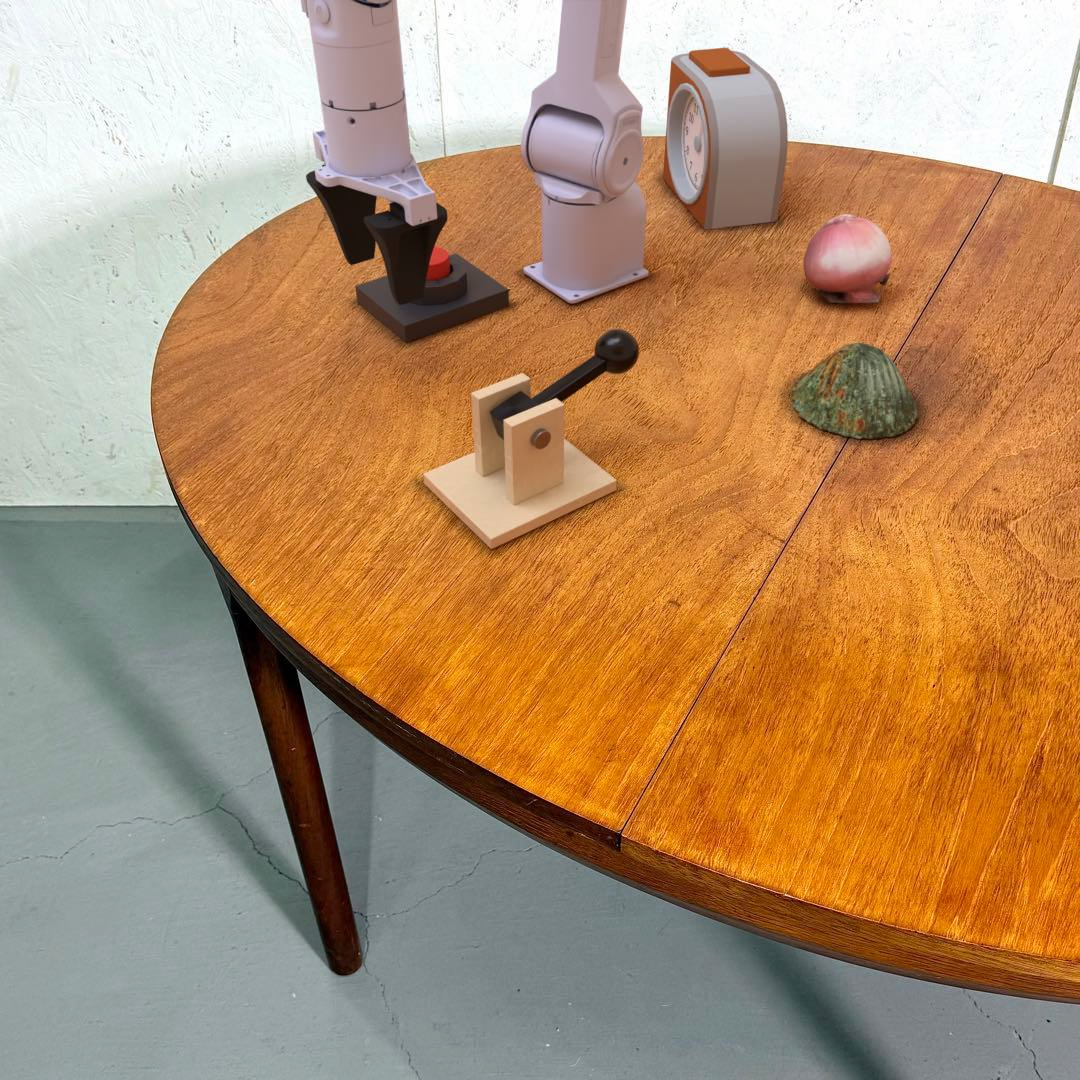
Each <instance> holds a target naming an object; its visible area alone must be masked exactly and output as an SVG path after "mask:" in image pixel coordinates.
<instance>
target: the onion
mask: <svg viewBox="0 0 1080 1080" xmlns="http://www.w3.org/2000/svg"><path fill="white" fill-rule="evenodd" d="M892 261H893V252H892V247H891V244H890V242H889V240H888V238H887V236H886V234H885V233H884V231H883V230H882V229H881V228H880V227H879V226H878V225H877V224H876V223H874V222H873V221H871V220H869V219H866V218H865V217H864V218H863V217H858V216H857V215H854V214H849V213H843V214H840V215H837V216H834V217H832V218H830V219H829V220H828V221H826V222H825V223H824V225H822V227H821V228H820V229H818V230H817V231H816V232H815V233H814V234H813V236H812V237H811V238H810V239H809V242H808V244H807V246H806V250H805V253H804V259H803V272H804V276H805V278H806V280H807V281H808V283H809V284H810V285H811V286H812V287H813V288H814V289H816V290H817V292H818V293H819V294H820V295H821V296H822V297H823V298H824V299H825V300H827V302H829V303H833V304H834V303H835V304H838V303H839V304H878V303H879V301H880V299H881V297H882V294H883V292H884V287H886V284H887V283H888V281H889V279H890V277H891V274H892V273H891V272H889V271H890V268H891V265H892ZM878 284H879V285H880V286H881V290H880V291H874V288H875V287H876V285H878Z"/></svg>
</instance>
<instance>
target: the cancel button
mask: <svg viewBox="0 0 1080 1080" xmlns="http://www.w3.org/2000/svg"><path fill="white" fill-rule="evenodd" d="M449 255H450V253H449V252H448V251H447V250H446V249H444V248H443V247H439V246H434V249H433V252H432V255H431V259H430V263H429V268H428V273H427V279H426V281H433V280H439V279H442V278H445V277H448V276H449V275H450V261H449Z"/></svg>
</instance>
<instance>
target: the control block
mask: <svg viewBox="0 0 1080 1080" xmlns="http://www.w3.org/2000/svg"><path fill="white" fill-rule="evenodd" d="M449 261H450V275H449V276H448V277H445V278H442V279H439V280H433V281H426V285H425V290H424V295H423V298H421V299H418V300H415V301H412V302H409V303H406V304H403V305H399V304H398V303H397V302H395V300H394V297H393V295H392V292H391V289H390V285H389V281H388V277H387V275H384V276H381V277H378V278H375V279H372V280H368V281H365V282H363V283H360V284H357V285H355V295H356V302H357V303H358V304H359V305H360V306H361V307H363V308H364V309H365V310H366V311H367V312H368V313H370V314H371V315H372V316H374V318H376V319H377V320H378V321H380V322H381V323H382V324H383V325H384V326H385V327H386V328H388V329H389V330H390V331H391V332H393V333H394V334H395V335H396V336H397V337H398V338H400V339H401V340H402V341H403V342H404V343H406V344H407V343H409V342H413V341H415V340H418V339H420V338H424V337H426V336H429V335H431V334H435V333H437V332H440V331H443V330H446V329H448V328H452V327H454V326H456V325H457V326H458V325H460V324H463V323H465V322H468V321H471V320H474V319H476V318H478V317H482V316H485V315H488V314H490V313H493V312H496V311H498V310H501V309H505V308H507V307H510V291H509V288H507V287H506V286H504V285H502V284H501V282H498V281H497V280H496V279H494V278H493V277H491V276H490V275H489V274H487V273H486V272H485V271H483V270H481V269H480V268H479V267H477V266H476V265H474V264H473V263H471V262H470V261H468V260H467V259H465V258H464V257H462V256H461V255H460V254H459V253H452V254H449Z"/></svg>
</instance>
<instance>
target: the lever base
mask: <svg viewBox="0 0 1080 1080" xmlns="http://www.w3.org/2000/svg"><path fill="white" fill-rule="evenodd" d="M531 387H532V386H531V378H530V377H529V376H528V375H527V374H525V373H524V372H521V373H518V374H516V375H513V376H510V377H507V378H506V379H503V380H500V381H498V382H496V383H493V384H490V385H488V386H485V387H482V388H480V389H478V390H475V391H473V392H471V394H470V396H471V413H472V431H473V447H474V449H473V450H474V451H473V452H471V453H469V454H466V455H464V456H461V457H459V458H457V459H454V460H452V461H450V462H447V463H445V464H442V465H440V466H437V467H436V468H433V469H430V470H428V471H426V472H424V473H423V475H422V476H423V485H424V486H426V487H427V488H428V489H429V490H430V491H431V492H432V493H433V494H434V495H435V497H437V498H438V499H439V500H440V501H441V502H442V503H443V504H444V505H445V506H447V508H448V509H450V511H451V512H452V513H453V514H454V515H455V516H456V517H458V518H459V520H461V522H463V524H465V525H466V526H467V527H468V528H469V529H470V530H471V531H472V532H473V533H474V534H475V535H476V536H477V538H479V539H480V540H481V541H482V542H483V543H484V544H485V545H486V546H487V547H488V548H489V549H490V550H493V549H495V548H498V547H500V546H502V545H504V544H506V543H508V542H510V541H512V540H514V539H516V538H518V537H521V536H523V535H525V534H527V533H529V532H532V531H534V530H536V529H537V528H538V529H539V528H540V527H542V526H544V525H546V524H548V523H551V522H552V521H554V520H556V519H559V518H560V517H563V516H565V515H567V514H569V513H571V512H573V511H576V510H578V509H579V508H582V507H584V506H586V505H588V504H590V503H593V502H595V501H597V500H598V499H601V498H603V497H605V496H607V495H610V494H611V493H614V492H615V491H617V479H616V478H615V477H613V476H612V475H611V474H609V473H608V472H607V471H606V470H604V468H602V467H601V466H600V465H598V464H597V463H596V462H595V461H593V460H592V459H591V458H589V456H587V455H586V454H585V453H584V452H582V451H581V450H580V449H578V448H577V447H576V446H575V445H574V444H573V443H571V442H570V441H568V440H567V439H566V438H565V410H566V409H565V406H566V405H565V403H563V402H561V401H559V400H558V399H557V398H555V399H553V400H550V401H548V402H545V403H543V404H541V405H538V406H536V407H533V408H531V409H528V410H526V411H524V412H521V413H519V414H516V415H514V416H512V417H509V418H507V419H504V420H503V421H504V440H503V439H502V438H501V437H499V436H498V434H497V431H496V429H495V426H494V423H493V420H492V417H491V414H490V411H491V410H493V409H494V408H496V407H497V406H499V405H500V404H501V403H503V402H504V401H506V400H507V399H509V398H510V397H512V396H513V395H515V394H516V393H518V392H519V391H522V392H523V393H525V394H526V395H527V396H529V397H530V398H532V394H531V393H532V392H531V391H532V390H531Z"/></svg>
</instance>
